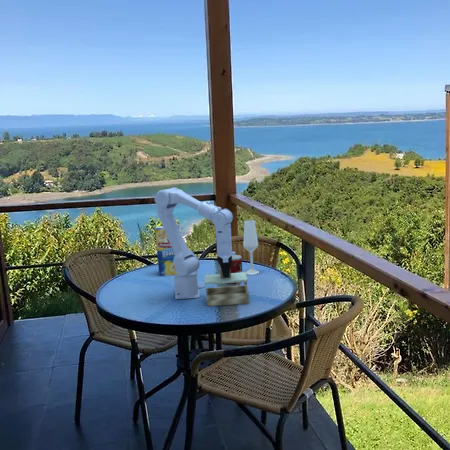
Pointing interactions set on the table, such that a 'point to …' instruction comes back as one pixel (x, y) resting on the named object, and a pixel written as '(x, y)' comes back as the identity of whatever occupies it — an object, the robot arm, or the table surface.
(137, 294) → the table surface
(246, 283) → the bolt keeper
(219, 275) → the lid
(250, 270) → the champagne flute
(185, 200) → the robot arm
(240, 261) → the canned food
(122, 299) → the table surface
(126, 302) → the table surface
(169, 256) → the beverage box
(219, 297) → the wooden tray
